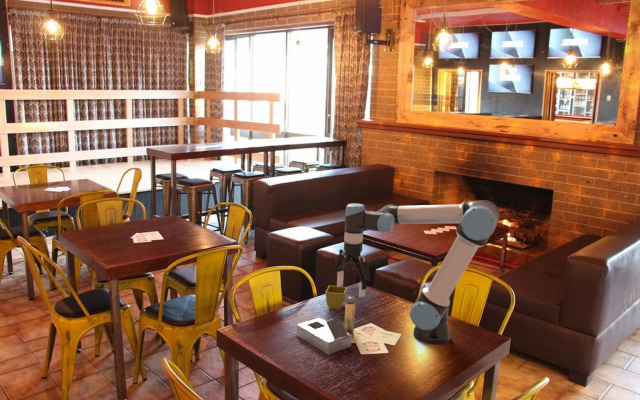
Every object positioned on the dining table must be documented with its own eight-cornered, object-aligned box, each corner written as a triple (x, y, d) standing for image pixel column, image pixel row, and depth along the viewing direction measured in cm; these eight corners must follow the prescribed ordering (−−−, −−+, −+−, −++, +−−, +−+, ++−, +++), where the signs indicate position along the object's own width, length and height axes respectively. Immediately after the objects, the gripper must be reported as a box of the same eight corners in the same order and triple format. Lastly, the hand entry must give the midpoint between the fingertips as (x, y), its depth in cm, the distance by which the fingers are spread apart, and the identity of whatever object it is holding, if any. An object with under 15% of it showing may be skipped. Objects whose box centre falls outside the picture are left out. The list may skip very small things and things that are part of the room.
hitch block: (296, 335, 234) (297, 324, 233) (319, 328, 242) (319, 317, 241) (328, 354, 219) (328, 342, 218) (350, 346, 227) (351, 334, 226)
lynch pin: (355, 334, 238) (357, 298, 234) (348, 336, 235) (350, 300, 232) (348, 331, 241) (350, 295, 237) (341, 333, 238) (343, 297, 235)
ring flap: (325, 322, 222) (327, 321, 222) (338, 318, 227) (340, 317, 226) (334, 343, 219) (336, 341, 218) (348, 338, 223) (349, 337, 223)
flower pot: (343, 312, 259) (344, 293, 258) (324, 310, 261) (325, 291, 259) (346, 305, 268) (347, 287, 266) (328, 303, 270) (328, 285, 268)
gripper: (381, 247, 223) (378, 298, 227) (340, 233, 242) (337, 280, 246) (367, 250, 218) (364, 302, 223) (326, 235, 237) (324, 283, 242)
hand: (350, 291), depth 234 cm, fingers open, 13 cm apart
